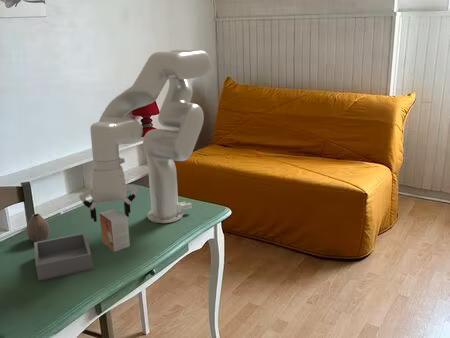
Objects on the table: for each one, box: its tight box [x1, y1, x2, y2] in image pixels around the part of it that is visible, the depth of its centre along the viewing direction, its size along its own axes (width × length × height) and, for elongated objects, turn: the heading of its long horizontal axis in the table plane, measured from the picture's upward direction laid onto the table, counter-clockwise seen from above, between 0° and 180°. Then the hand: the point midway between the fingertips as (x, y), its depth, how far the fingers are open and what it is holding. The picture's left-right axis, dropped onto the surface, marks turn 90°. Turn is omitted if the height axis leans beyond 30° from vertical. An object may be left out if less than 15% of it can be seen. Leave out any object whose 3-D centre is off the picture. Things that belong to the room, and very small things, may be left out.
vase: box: [26, 213, 51, 243], centre depth 147 cm, size 7×7×9 cm
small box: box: [99, 208, 131, 253], centre depth 143 cm, size 8×6×10 cm
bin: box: [33, 232, 94, 283], centre depth 134 cm, size 15×15×5 cm
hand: (111, 217), depth 141 cm, fingers open, 9 cm apart
